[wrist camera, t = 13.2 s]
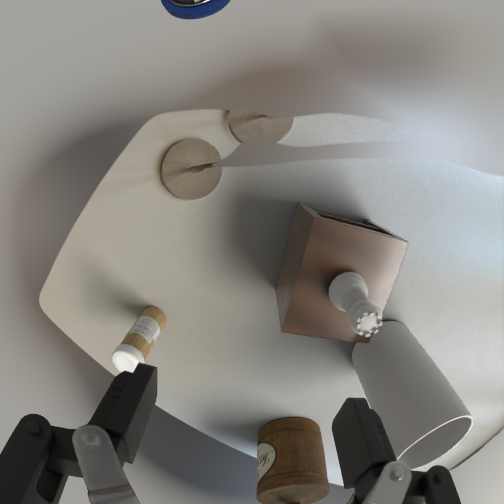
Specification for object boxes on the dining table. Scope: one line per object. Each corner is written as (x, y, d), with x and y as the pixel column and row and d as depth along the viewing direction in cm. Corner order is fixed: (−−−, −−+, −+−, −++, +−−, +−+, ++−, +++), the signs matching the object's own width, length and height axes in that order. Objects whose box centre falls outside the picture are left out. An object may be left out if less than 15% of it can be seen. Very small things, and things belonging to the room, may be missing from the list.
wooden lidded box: (298, 201, 40) (313, 216, 28) (371, 221, 40) (408, 242, 29) (275, 289, 44) (280, 331, 32) (345, 302, 44) (368, 343, 33)
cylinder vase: (364, 380, 50) (403, 478, 26) (339, 345, 47) (382, 458, 23) (415, 347, 47) (474, 433, 23) (397, 306, 44) (472, 401, 21)
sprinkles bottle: (156, 332, 47) (129, 381, 34) (137, 314, 46) (105, 359, 33) (171, 319, 46) (146, 369, 33) (152, 300, 45) (121, 346, 32)
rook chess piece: (323, 303, 31) (340, 344, 23) (333, 267, 30) (355, 300, 22) (357, 307, 31) (382, 346, 23) (368, 272, 30) (398, 305, 22)
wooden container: (252, 420, 54) (249, 505, 33) (319, 411, 52) (335, 495, 31) (262, 451, 58) (262, 523, 37) (320, 444, 57) (331, 515, 36)
